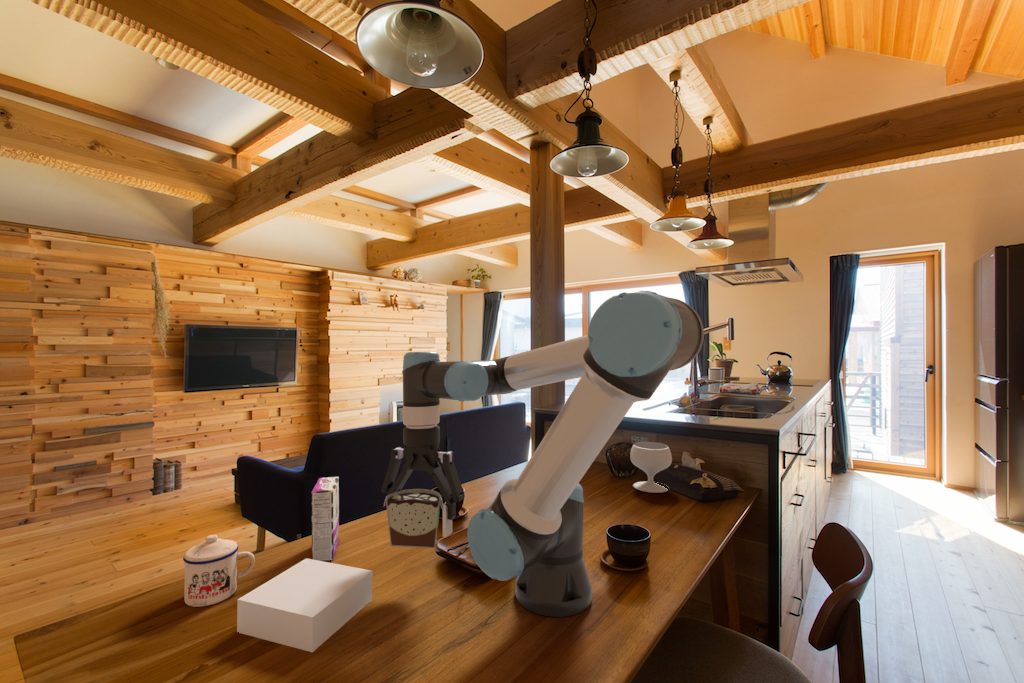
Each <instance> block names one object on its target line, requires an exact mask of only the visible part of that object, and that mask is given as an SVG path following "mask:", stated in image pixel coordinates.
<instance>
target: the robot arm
mask: <svg viewBox="0 0 1024 683" xmlns="http://www.w3.org/2000/svg"><path fill="white" fill-rule="evenodd" d="M704 338H705V329H704V325H703V322H702V319H701V317H700V314H698V312H697V311H696V310H695V309H694V308H693V307H692V306H691V305H690V304H688V303H687V302H684V301H682V300H680V299H678V298H673V297H669V296H664V295H661V294H658V293H657V292H654V291H649V290H630V291H628V290H627V291H624V292H620V293H618V294H615V295H613V296H611V297H609V298H608V299H606V300H605V301H604V302H602V303H601V304H600V306H598V308H597V309H596V310H595V312H593V316H592V317H591V319H590V322H589V324H588V328H587V334H585V335H583V336H582V335H581V336H578V337H575V338H571V339H568V340H565V341H559V342H556V343H553V344H549V345H545V346H542V347H538V348H533V349H530V350H526V351H523V352H520V353H516V354H511V355H509V356H504V357H501V358H500V357H499V358H496V359H488V360H458V361H456V360H455V361H441V359H440V354H439V352H437V351H409V352H405V353H404V356H403V360H402V361H403V364H402V371H401V373H402V402H403V403H402V404H403V406H402V424H403V425H404V428H402V431H403V432H402V442H403V445H404V448H402V447H401V446H398V447H395V448H392V449H391V450H390V461H389V464H388V467H387V469H386V474H385V476H384V478H383V479H384V480H383V483H382V486H381V488H380V489H381V490H380V491H381V493H382V494H385V493H386V494H387V496H388V495H389V494H392V493H394V492H398V491H402V490H403V487H404V486H405V484H406V483H407V481H408V479H409V478H410V477H411V474H412V473H413V471H414V472H416V471H420V472H424V473H427V474H428V476H430V477H431V479H432V480H433V482H434V483H435V485H436V487H437V489H438V491H439V493H440V495H441V497H443V498H442V499H443V500H444V501H445V502H444V503H443V504H442V506H443V508H442V538H447V537H448V536H450V535H451V534H452V533H453V520H454V519H455V518H456V516H457V511H456V510H457V503H458V502H460V501H461V500H463V499H465V496H466V495H465V492H464V489H463V486H462V483H461V480H460V477H459V474H458V470H457V467H456V464H455V461H454V460H455V457H454V456H455V455H454V452H453V451H452V450H449V451H441V450H440V442H441V427H440V425H438V424H439V423H440V420H441V419H440V414H441V413H440V411H441V410H440V408H441V407H440V405H441V404H440V403H441V401H440V400H441V399H442V400H455V401H458V402H469V401H470V402H474V401H478V400H480V399H481V398H482V397H487V396H497V395H507V394H511V393H514V392H516V391H522V390H525V389H530V388H535V387H539V386H544V385H549V384H553V383H559V382H564V381H568V380H569V381H570V380H574V379H579V380H578V382H577V384H576V385H575V387H573V388H574V389H573V390H572V392H571V393H570V395H569V396H568V398H567V399H566V401H565V403H564V404H563V406H562V407H561V409H560V411H558V414H557V415H556V417H555V419H554V420H553V422H552V424H551V425H550V427H549V428H548V430H547V432H546V433H545V435H544V436H543V438H542V440H541V441H540V443H539V444H538V446H537V447H536V449H535V451H534V453H533V454H532V456H531V457H530V459H529V461H528V462H527V464H526V465H525V466H524V468H523V470H522V472H520V475H519V476H518V477H517V478H515V479H514V478H513V479H510V480H507V481H506V482H505V483H504V484H503V485H502V487H501V488H500V490H499V492H498V493H497V495H496V497H495V498H494V499H493V502H491V504H490V505H489V506H488V507H487V508H482V509H480V510H478V512H476V513H475V514H474V515H472V517H471V518H470V520H469V523H468V525H467V533H466V534H467V542H468V545H469V551H470V554H471V555H472V558H473V559H474V560H473V561H474V562H475V564H476V565H477V566H478V568H480V570H481V571H482V572H483V573H485V575H486V576H488V577H489V578H491V579H492V580H498V581H500V582H501V581H502V582H505V581H509V580H511V579H513V578H515V577H516V579H515V598H516V600H517V602H518V603H519V605H520V606H522V607H523V608H524V609H526V610H527V611H530V612H531V613H534V614H537V615H539V616H545V617H551V618H552V617H555V618H558V617H559V618H563V617H569V616H570V617H571V616H574V615H577V614H579V613H581V612H583V611H585V610H586V609H587V608H588V607H590V605H591V603H592V599H593V598H592V596H593V593H592V592H593V589H592V582H591V580H590V576H589V573H588V570H587V566H586V563H585V560H584V504H585V500H584V489H583V486H582V485H581V484H580V482H581V480H582V479H583V477H584V476H585V474H586V473H587V471H588V470H589V469H590V468H591V466H592V465H593V463H594V461H595V460H596V458H597V457H598V456H599V454H600V453H601V451H602V450H603V448H604V447H605V446H606V443H607V442H608V441H609V440H610V438H611V437H612V435H613V434H614V432H615V431H616V429H617V428H618V426H619V425H620V424H621V422H622V421H623V419H624V418H625V416H626V415H627V414H628V412H629V410H630V409H631V408H632V406H633V404H634V403H636V402H642V401H648V400H650V399H651V397H652V396H653V394H654V393H655V392H656V390H657V389H658V388H659V386H660V385H661V383H662V382H663V380H664V379H665V377H666V376H667V375H668V373H669V372H670V371H676V370H679V369H682V368H684V367H685V366H687V365H688V364H690V363H691V362H692V361H693V360H694V359H695V358H696V357H697V356H698V355H699V353H700V351H701V350H702V346H703V344H704V340H705V339H704ZM403 458H404V459H405V461H406V462H404V465H403V466H402V468H401V472H400V473H399V475H398V472H399V469H400V466H401V464H402V461H403ZM439 460H440V463H441V464H442V465H441V464H440V463H439ZM442 467H443V468H442ZM442 469H443V470H442ZM443 471H444V472H443ZM444 473H445V474H444Z"/></svg>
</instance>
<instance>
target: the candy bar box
mask: <svg viewBox="0 0 1024 683" xmlns="http://www.w3.org/2000/svg"><path fill="white" fill-rule="evenodd" d="M339 479H340V477H339V476H328V477H319V478H318V480H317V482H316V484H315V485H314V487H313V489H312V491H311V495H310V496H311V559H313V560H318V561H324V562H333V561H334V560H335V555H336V552H337V549H338V545H339V543H340V542H339V541H340V493H339V492H340V487H339V486H340V485H339ZM330 560H331V561H330Z"/></svg>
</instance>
